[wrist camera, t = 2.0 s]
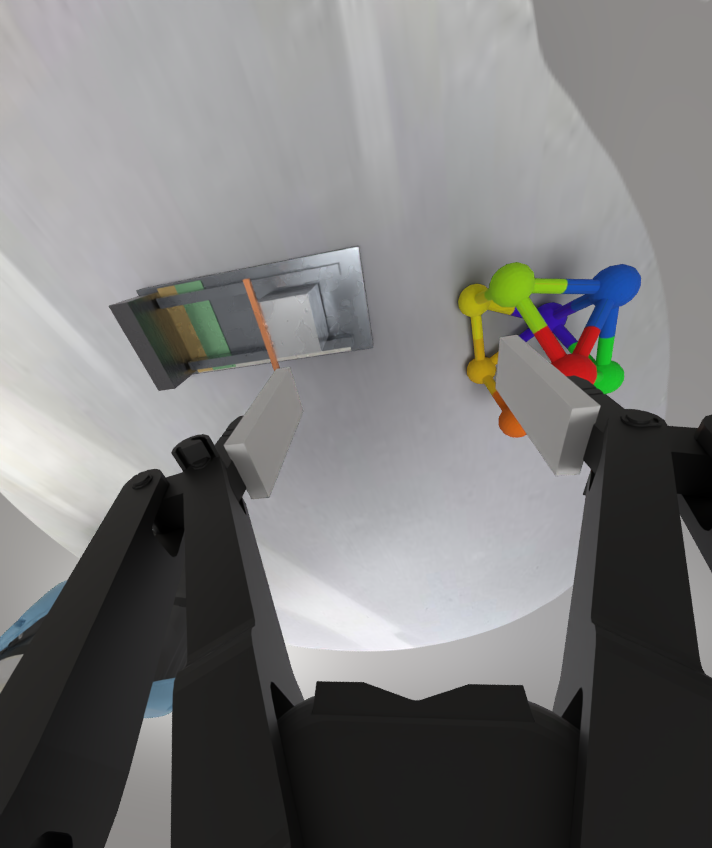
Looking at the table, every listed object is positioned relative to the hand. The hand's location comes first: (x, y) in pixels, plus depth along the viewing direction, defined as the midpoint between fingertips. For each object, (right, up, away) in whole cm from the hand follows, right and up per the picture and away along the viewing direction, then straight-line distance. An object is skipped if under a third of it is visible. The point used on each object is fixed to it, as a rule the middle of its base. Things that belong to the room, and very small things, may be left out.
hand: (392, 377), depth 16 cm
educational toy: (+15, +9, +17) cm, 24 cm away
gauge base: (-13, +10, +19) cm, 24 cm away
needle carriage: (-8, +9, +16) cm, 20 cm away
